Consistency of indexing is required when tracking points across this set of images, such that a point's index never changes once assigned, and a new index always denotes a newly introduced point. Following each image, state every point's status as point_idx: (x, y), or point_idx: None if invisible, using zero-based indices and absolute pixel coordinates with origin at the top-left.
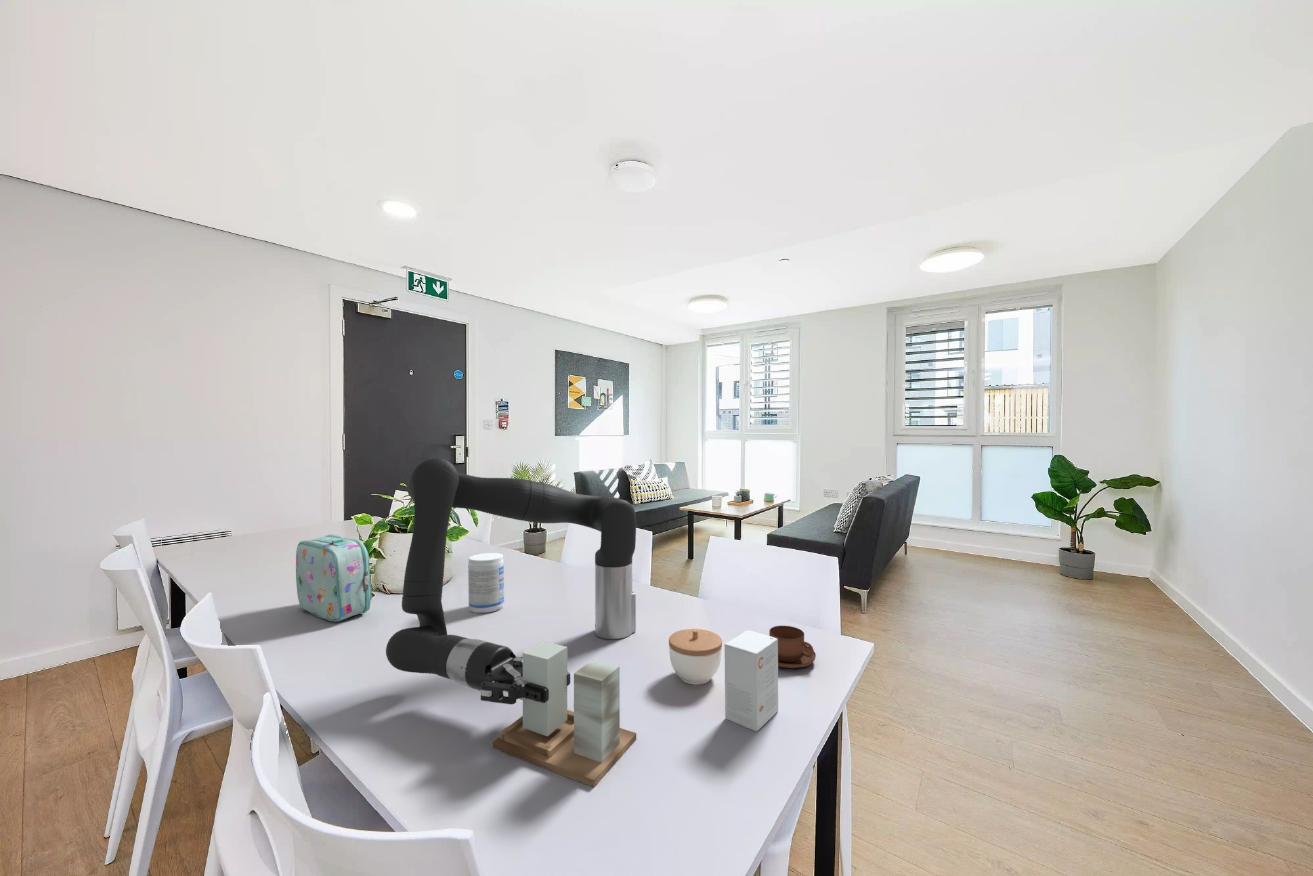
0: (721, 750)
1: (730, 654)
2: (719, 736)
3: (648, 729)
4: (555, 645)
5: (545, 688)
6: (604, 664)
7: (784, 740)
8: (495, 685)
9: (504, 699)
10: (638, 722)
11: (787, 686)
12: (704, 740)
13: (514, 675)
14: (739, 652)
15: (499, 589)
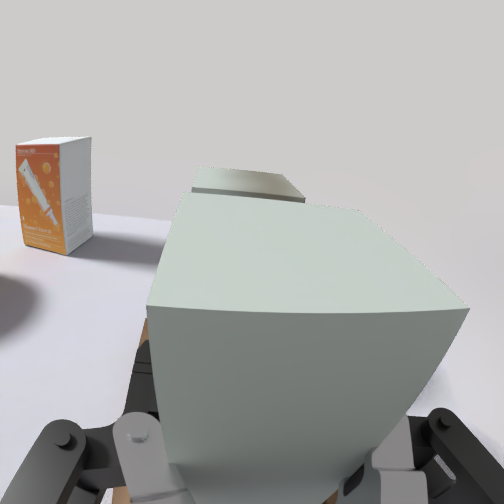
0: (136, 252)
1: (66, 155)
2: (108, 256)
3: (110, 320)
4: (196, 219)
5: None
6: (204, 175)
7: (104, 224)
8: (497, 477)
9: (437, 472)
10: (91, 338)
11: (3, 227)
12: (120, 265)
13: (420, 475)
14: (76, 145)
15: None
